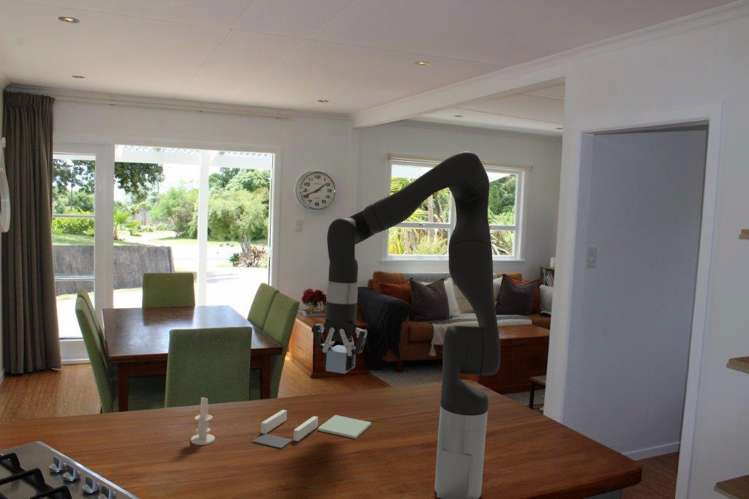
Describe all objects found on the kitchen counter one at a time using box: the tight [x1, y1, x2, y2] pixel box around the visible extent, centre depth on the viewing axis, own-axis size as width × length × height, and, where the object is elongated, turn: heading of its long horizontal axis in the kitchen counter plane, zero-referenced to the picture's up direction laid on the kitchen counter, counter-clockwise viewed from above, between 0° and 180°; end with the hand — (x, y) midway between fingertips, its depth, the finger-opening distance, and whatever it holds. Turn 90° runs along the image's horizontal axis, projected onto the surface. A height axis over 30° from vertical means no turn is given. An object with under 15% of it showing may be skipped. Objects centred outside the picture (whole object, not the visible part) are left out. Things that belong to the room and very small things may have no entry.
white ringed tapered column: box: [190, 395, 216, 446], centre depth 137 cm, size 5×5×10 cm
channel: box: [252, 409, 319, 450], centre depth 144 cm, size 16×10×2 cm, turn 159°
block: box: [325, 344, 356, 375], centre depth 151 cm, size 7×5×5 cm
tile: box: [317, 414, 372, 440], centre depth 150 cm, size 10×10×1 cm
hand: (338, 368), depth 149 cm, fingers closed on block, 5 cm apart
